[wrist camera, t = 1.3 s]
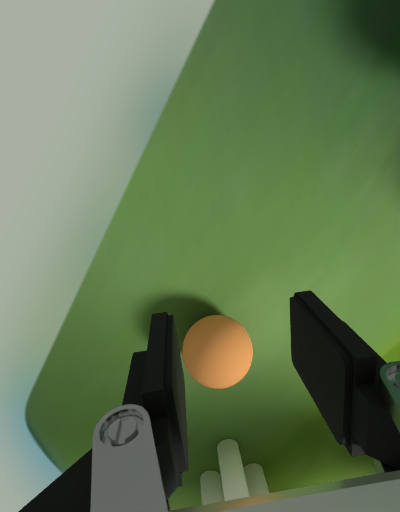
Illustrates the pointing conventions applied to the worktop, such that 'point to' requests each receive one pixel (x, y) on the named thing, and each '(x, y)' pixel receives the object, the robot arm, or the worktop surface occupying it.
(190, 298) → the worktop surface
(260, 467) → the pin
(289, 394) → the worktop surface
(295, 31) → the worktop surface
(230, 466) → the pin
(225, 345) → the brown egg
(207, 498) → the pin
